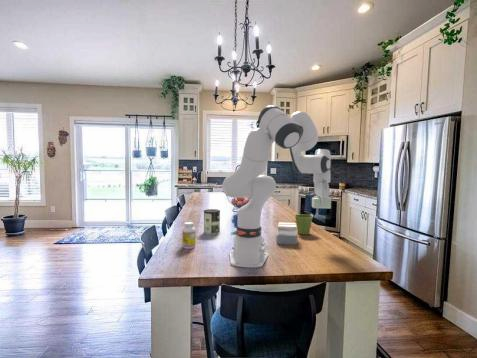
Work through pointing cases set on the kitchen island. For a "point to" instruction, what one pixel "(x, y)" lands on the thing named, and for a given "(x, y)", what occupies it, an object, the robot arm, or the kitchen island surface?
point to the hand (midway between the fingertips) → (321, 204)
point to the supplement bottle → (188, 236)
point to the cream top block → (287, 229)
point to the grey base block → (286, 239)
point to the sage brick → (317, 203)
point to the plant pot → (303, 223)
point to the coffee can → (211, 221)
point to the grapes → (235, 220)
